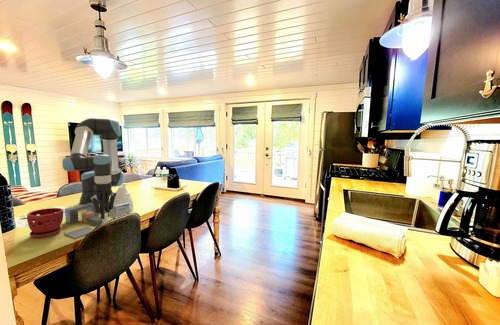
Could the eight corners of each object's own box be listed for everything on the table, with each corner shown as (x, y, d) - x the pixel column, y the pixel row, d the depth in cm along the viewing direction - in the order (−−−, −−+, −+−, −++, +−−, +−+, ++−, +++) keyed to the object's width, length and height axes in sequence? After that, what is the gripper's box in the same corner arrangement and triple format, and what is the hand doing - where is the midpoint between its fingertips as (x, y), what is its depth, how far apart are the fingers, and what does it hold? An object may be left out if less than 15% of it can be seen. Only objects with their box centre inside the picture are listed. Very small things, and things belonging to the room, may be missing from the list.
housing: (94, 214, 135) (93, 202, 134) (98, 215, 133) (98, 203, 132) (65, 222, 122) (64, 208, 121) (70, 223, 120) (69, 210, 119)
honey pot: (127, 205, 154) (126, 181, 152) (137, 208, 148) (136, 183, 146) (108, 210, 143) (106, 184, 141) (118, 214, 137) (116, 187, 135)
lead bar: (94, 220, 126) (94, 215, 126) (104, 223, 122) (104, 218, 121) (87, 223, 122) (87, 218, 122) (97, 226, 118) (97, 221, 118)
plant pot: (50, 239, 101) (48, 215, 100) (20, 239, 100) (18, 215, 99) (70, 228, 114) (69, 206, 113) (45, 228, 113) (43, 206, 112)
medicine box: (116, 220, 126) (116, 206, 125) (113, 219, 128) (112, 205, 127) (130, 216, 133) (129, 203, 132) (126, 215, 135) (125, 202, 134)
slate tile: (86, 227, 116) (86, 226, 116) (97, 231, 111) (97, 230, 111) (64, 234, 107) (64, 233, 107) (75, 239, 102) (75, 237, 102)
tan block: (90, 218, 128) (90, 210, 128) (94, 220, 126) (94, 212, 126) (82, 221, 124) (81, 213, 123) (86, 222, 122) (85, 214, 122)
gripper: (111, 179, 123) (112, 218, 126) (85, 184, 111) (88, 226, 114) (119, 181, 120) (120, 220, 122) (94, 185, 108) (96, 229, 111)
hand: (105, 223), depth 118 cm, fingers closed
